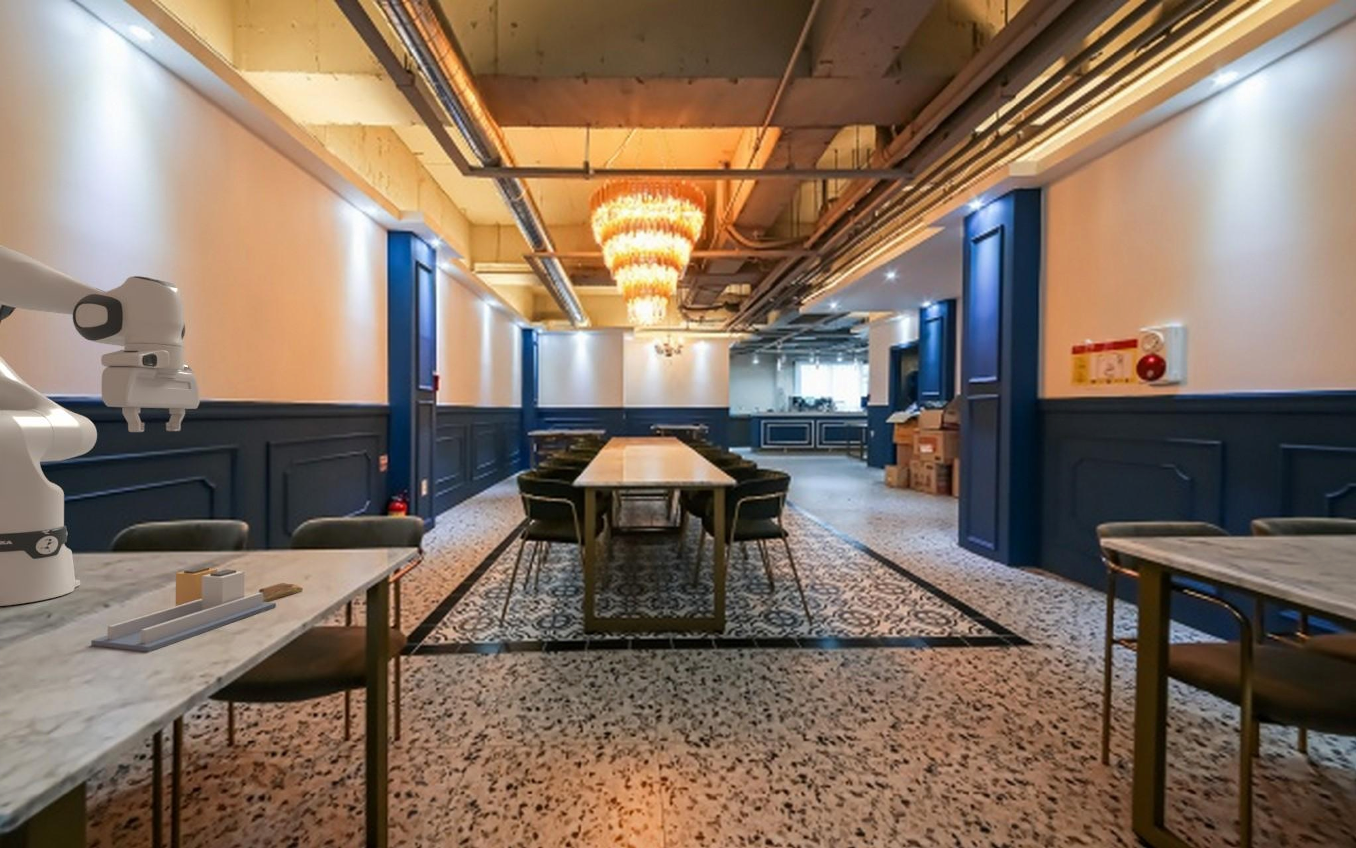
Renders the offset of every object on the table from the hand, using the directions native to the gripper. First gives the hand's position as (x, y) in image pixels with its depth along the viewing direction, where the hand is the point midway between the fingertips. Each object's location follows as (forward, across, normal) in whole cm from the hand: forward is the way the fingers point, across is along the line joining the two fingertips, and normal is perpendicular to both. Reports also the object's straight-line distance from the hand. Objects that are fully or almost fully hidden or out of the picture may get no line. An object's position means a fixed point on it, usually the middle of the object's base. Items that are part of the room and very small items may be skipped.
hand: (155, 431), depth 118 cm
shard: (+36, -10, +18) cm, 41 cm away
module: (+35, -3, +5) cm, 36 cm away
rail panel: (+36, +8, +12) cm, 38 cm away
